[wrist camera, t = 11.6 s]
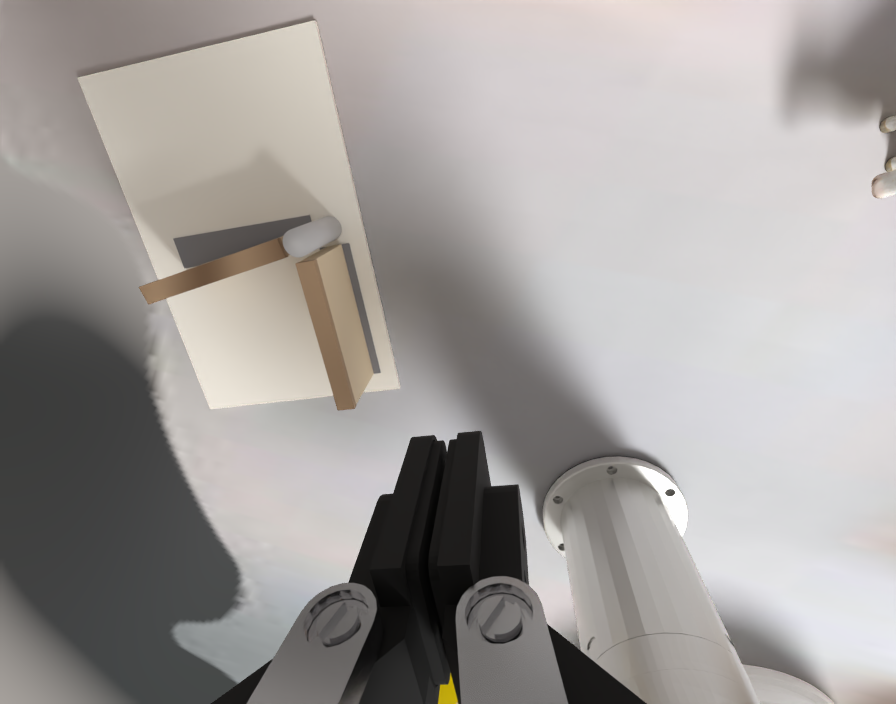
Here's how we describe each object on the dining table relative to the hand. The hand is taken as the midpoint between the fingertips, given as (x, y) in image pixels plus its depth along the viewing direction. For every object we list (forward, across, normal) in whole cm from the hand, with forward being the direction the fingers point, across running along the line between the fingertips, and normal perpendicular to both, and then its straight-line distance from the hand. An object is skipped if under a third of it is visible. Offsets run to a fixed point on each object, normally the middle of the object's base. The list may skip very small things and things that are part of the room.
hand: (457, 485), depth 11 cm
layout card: (+27, +18, -4) cm, 33 cm away
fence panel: (+26, +18, -3) cm, 32 cm away
